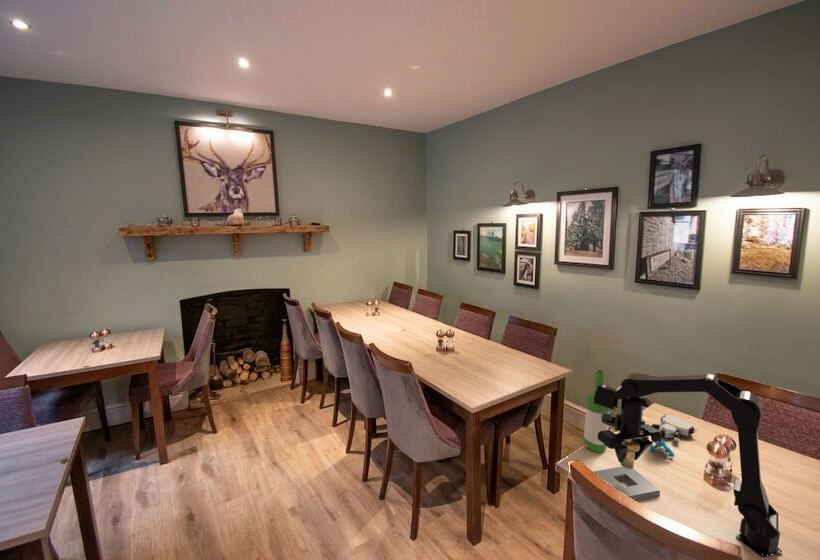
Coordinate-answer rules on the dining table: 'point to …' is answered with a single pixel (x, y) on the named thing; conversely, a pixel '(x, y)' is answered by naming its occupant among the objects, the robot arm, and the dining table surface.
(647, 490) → the housing plate
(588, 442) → the wine bottle
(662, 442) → the blue plastic angular piece
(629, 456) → the door knob
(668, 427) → the robot toy
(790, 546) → the dining table surface
